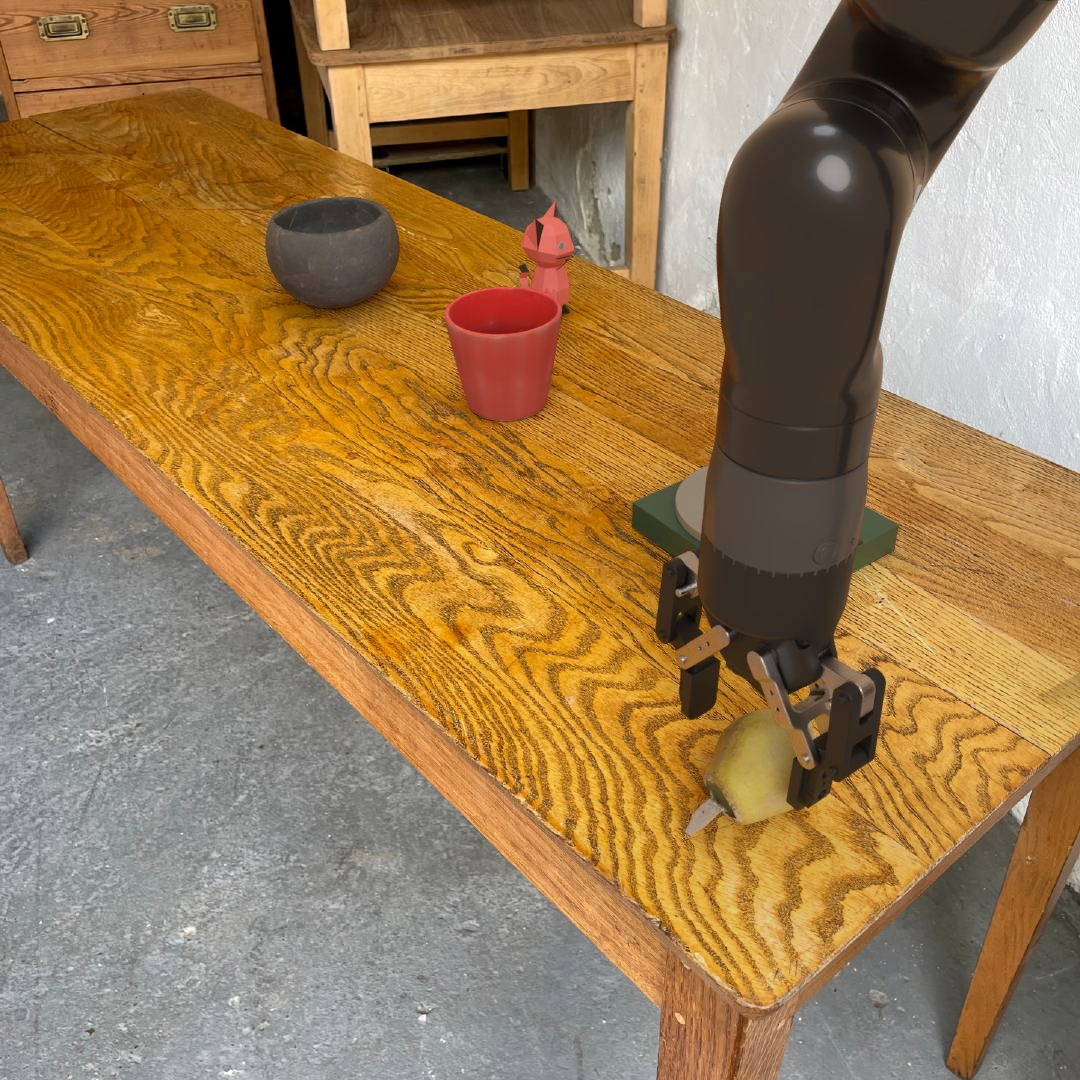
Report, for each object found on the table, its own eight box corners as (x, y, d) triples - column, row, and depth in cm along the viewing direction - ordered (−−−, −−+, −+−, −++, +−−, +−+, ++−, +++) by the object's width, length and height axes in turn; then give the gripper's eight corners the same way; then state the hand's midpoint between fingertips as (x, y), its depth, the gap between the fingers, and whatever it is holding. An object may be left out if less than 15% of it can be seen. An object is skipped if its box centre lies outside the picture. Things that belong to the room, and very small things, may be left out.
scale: (894, 550, 86) (901, 516, 84) (765, 620, 79) (769, 585, 77) (756, 469, 96) (759, 437, 94) (631, 526, 89) (632, 493, 87)
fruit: (647, 816, 65) (751, 713, 70) (726, 889, 63) (828, 777, 67) (664, 774, 60) (774, 666, 65) (750, 852, 58) (857, 734, 63)
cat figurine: (565, 332, 119) (564, 223, 112) (507, 323, 122) (502, 216, 115) (587, 306, 125) (587, 201, 118) (531, 299, 127) (528, 195, 120)
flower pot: (585, 409, 105) (584, 314, 100) (484, 441, 101) (478, 344, 95) (529, 367, 113) (525, 276, 107) (432, 396, 108) (424, 303, 103)
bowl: (316, 337, 120) (302, 248, 114) (253, 297, 130) (237, 213, 124) (429, 300, 127) (422, 215, 122) (362, 264, 137) (352, 184, 131)
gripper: (951, 564, 51) (890, 801, 60) (734, 437, 60) (711, 660, 70) (839, 627, 47) (793, 869, 57) (627, 482, 57) (618, 710, 66)
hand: (748, 753), depth 63 cm, fingers open, 8 cm apart
